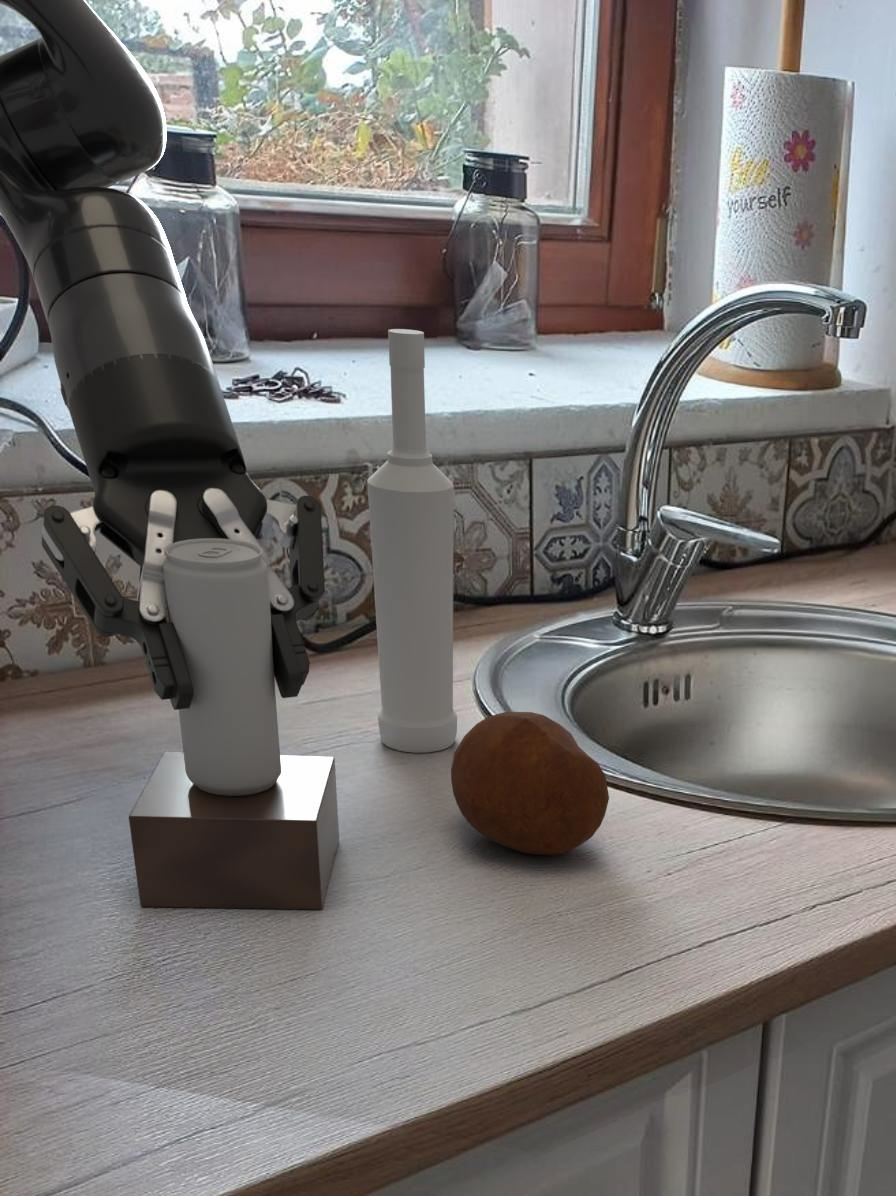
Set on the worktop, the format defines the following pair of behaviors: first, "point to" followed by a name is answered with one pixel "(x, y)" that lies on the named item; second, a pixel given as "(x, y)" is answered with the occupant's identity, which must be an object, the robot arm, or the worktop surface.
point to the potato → (528, 784)
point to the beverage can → (225, 664)
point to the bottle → (412, 568)
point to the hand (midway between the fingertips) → (239, 694)
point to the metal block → (236, 839)
